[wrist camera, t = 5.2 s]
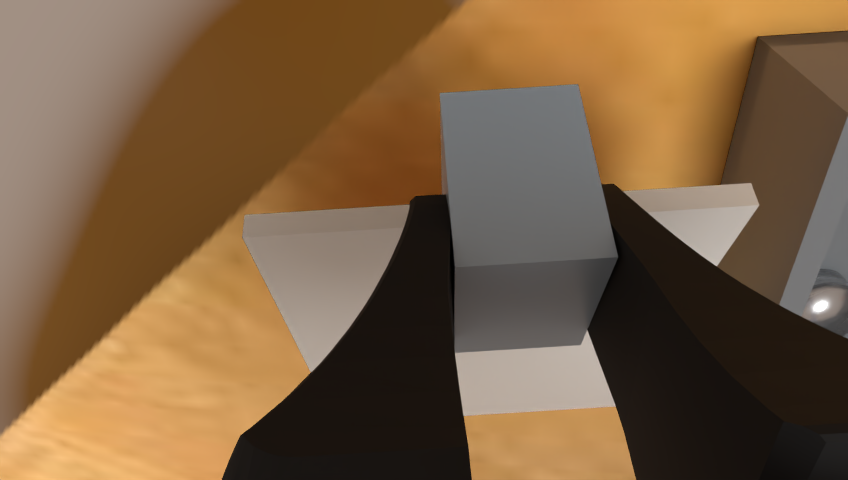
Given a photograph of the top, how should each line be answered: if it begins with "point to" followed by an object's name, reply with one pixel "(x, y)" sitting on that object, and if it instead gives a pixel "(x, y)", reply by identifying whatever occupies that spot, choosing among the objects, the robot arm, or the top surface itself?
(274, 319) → the top surface
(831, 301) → the chrome dome knob
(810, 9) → the top surface
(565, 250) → the white slab
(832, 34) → the gray open box
